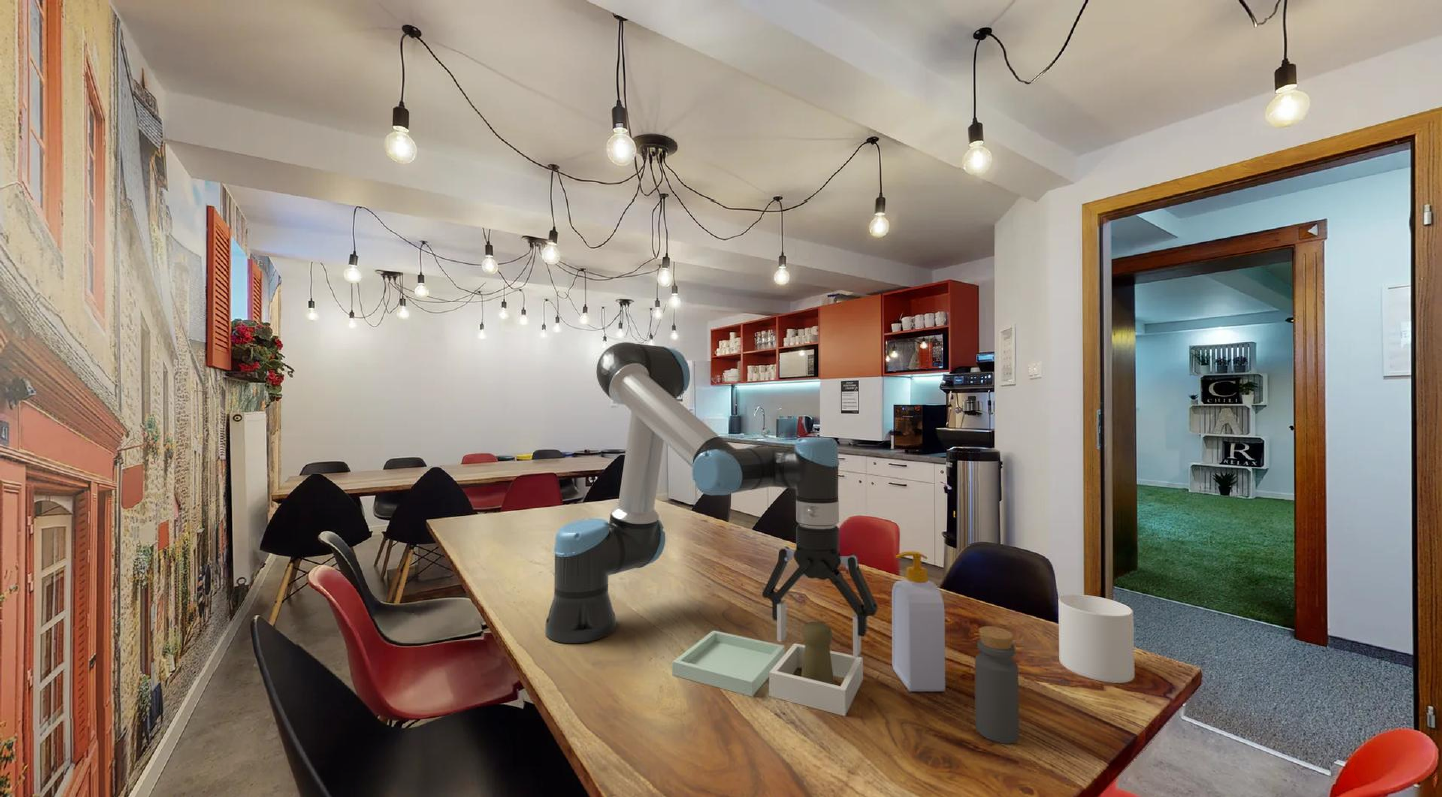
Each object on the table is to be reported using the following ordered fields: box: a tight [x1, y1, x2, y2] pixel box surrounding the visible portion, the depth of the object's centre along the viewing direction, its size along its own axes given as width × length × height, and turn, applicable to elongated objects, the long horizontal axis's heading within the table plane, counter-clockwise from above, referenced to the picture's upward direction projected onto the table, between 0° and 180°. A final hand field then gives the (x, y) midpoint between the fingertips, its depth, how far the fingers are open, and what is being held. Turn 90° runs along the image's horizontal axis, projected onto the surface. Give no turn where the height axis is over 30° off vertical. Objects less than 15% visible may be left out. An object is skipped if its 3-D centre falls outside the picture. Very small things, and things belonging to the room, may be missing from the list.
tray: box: [671, 629, 786, 697], centre depth 101 cm, size 16×16×2 cm
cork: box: [800, 621, 835, 685], centre depth 93 cm, size 6×6×11 cm
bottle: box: [974, 625, 1020, 745], centre depth 80 cm, size 6×6×15 cm
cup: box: [1058, 593, 1135, 684], centre depth 101 cm, size 12×12×12 cm
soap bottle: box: [891, 550, 946, 692], centre depth 96 cm, size 9×7×23 cm
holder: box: [768, 643, 864, 717], centre depth 93 cm, size 13×13×4 cm
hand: (818, 646), depth 93 cm, fingers open, 13 cm apart
